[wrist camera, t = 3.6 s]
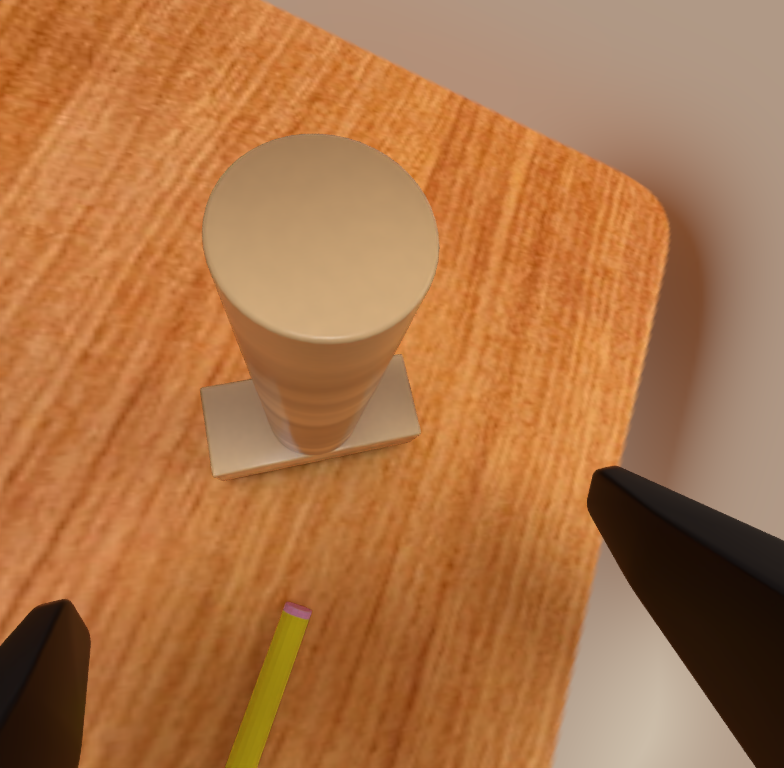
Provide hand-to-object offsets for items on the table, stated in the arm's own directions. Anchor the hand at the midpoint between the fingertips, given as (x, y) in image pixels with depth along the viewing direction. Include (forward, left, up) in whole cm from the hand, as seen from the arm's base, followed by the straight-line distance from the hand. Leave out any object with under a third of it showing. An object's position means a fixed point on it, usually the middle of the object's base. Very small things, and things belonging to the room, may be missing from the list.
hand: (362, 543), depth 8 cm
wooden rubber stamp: (+3, -3, -11) cm, 11 cm away
